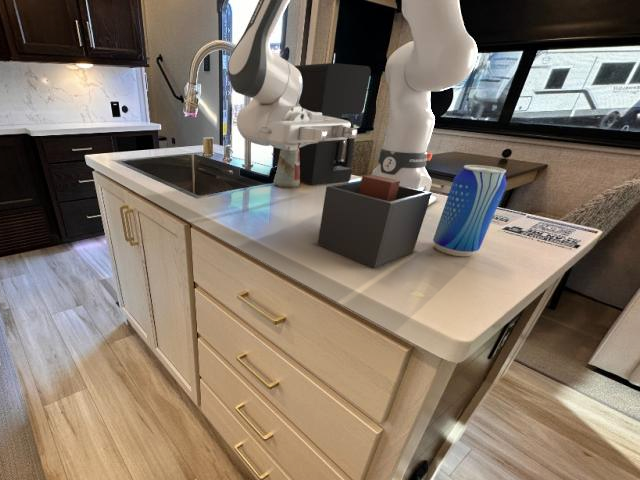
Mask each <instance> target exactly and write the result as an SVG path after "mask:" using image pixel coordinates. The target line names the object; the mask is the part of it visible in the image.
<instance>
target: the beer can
mask: <svg viewBox="0 0 640 480" xmlns="http://www.w3.org/2000/svg"><path fill="white" fill-rule="evenodd" d="M506 173H507V170H506V169H505V168H502V167H498V166H493V165H492V166H491V165H483V164H482V165H481V164H465V165H463V169H462V170H461V171H459V173H458V174H457V175H455V176H454V178H453V179H452V183H451V186H450V189H449V192H448V195H447V198H446V202H445V204H444V207H443V209H442V213H441V216H440V219H439V221H438V223H437V227H436V230H435V232H434V235H433V238H432V241H433V244H434V247H435V249H436V250H437V251H438V252H441V253H444V254H447V255H449V256H454V257H470V256H472V255H474V253H476V252H477V251H479V250H480V248H481V246H482V245H483V242H484V239H485V237H486V235H487V232H488V230H489V228H490V225H491V223H492V221H493V218H494V216H495V213H496V211H497V209H498V206H499V204H500V202H501V200H502V197H503V195H504V192H505V190H506V188H507V185H508V183H507V179H506Z"/></svg>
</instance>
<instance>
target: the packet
mask: <svg viewBox="0 0 640 480" xmlns="http://www.w3.org/2000/svg"><path fill="white" fill-rule="evenodd" d="M361 177H362V178H361V180H362V181H361V186H360V191H359V194H362V195H366V196H370V197H373V198H377V199H381V200H385V201H389V202H390V201H394V200H395V199H396V195H397V191H398V188H399V184H400V180H395V179H390V178H386V177H381V176H376V175H372V174H368V175H363V176H361Z"/></svg>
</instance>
